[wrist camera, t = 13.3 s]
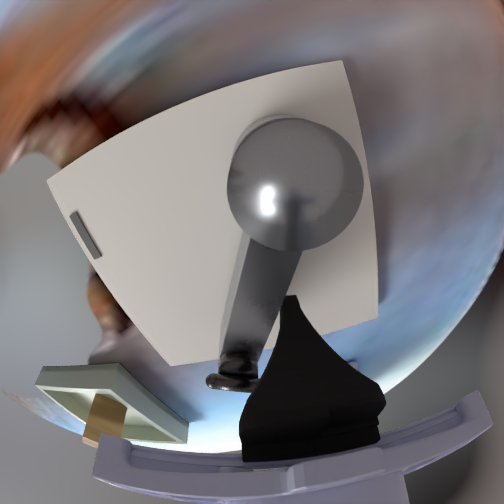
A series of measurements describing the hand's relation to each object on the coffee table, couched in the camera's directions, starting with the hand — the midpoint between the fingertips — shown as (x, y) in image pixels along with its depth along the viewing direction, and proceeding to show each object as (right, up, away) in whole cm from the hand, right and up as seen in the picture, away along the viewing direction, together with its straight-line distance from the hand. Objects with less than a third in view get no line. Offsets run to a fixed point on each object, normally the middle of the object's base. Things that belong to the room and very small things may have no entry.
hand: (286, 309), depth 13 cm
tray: (-18, -15, +12) cm, 26 cm away
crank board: (-3, +3, +2) cm, 5 cm away
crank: (-1, +3, 0) cm, 4 cm away
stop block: (-19, -15, +11) cm, 26 cm away
